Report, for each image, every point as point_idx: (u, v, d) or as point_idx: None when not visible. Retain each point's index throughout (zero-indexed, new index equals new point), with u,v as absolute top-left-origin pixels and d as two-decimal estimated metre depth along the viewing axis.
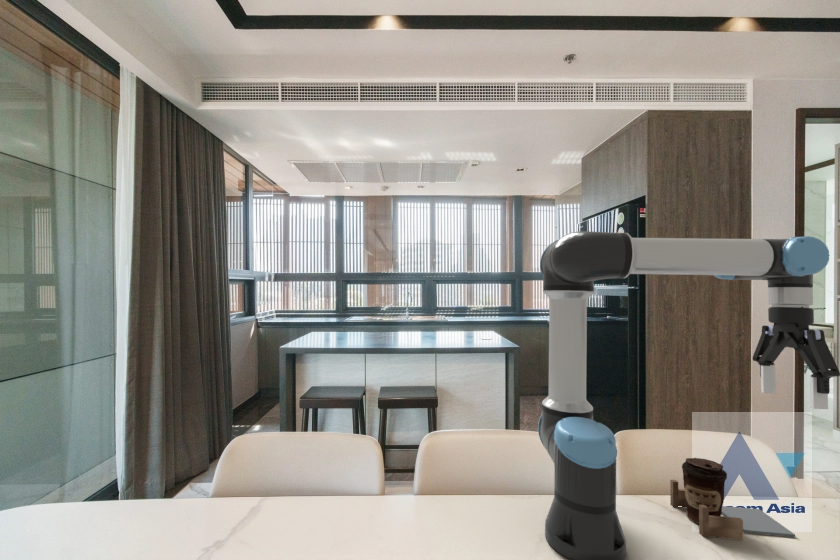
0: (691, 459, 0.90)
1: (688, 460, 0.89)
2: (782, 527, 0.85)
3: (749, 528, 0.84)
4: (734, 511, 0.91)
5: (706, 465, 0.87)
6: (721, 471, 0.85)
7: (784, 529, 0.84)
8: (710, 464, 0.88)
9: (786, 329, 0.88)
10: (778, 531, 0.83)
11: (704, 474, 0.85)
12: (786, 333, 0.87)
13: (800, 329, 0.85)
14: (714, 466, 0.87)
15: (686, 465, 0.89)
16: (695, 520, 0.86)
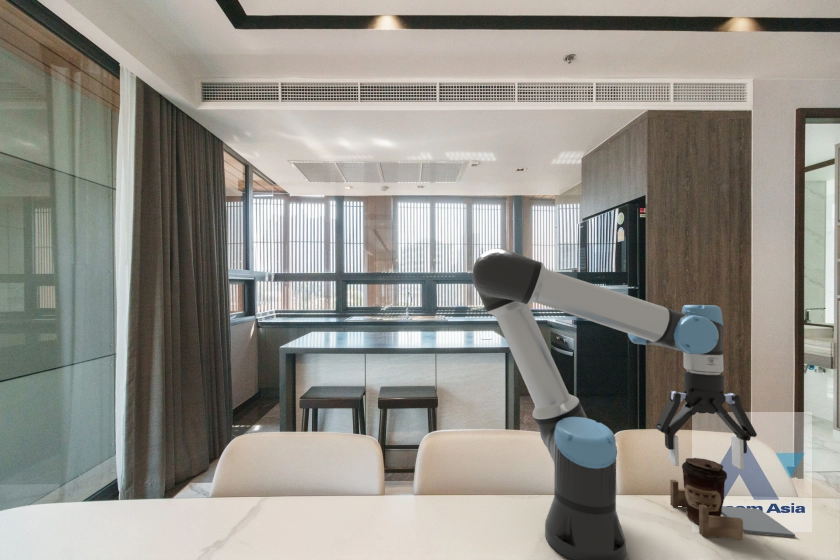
0: (691, 459, 0.90)
1: (688, 460, 0.89)
2: (782, 527, 0.85)
3: (749, 528, 0.84)
4: (734, 511, 0.91)
5: (706, 465, 0.87)
6: (721, 471, 0.85)
7: (784, 529, 0.84)
8: (710, 464, 0.88)
9: None
10: (778, 531, 0.83)
11: (704, 474, 0.85)
12: None
13: None
14: (714, 466, 0.87)
15: (686, 465, 0.89)
16: (695, 520, 0.86)
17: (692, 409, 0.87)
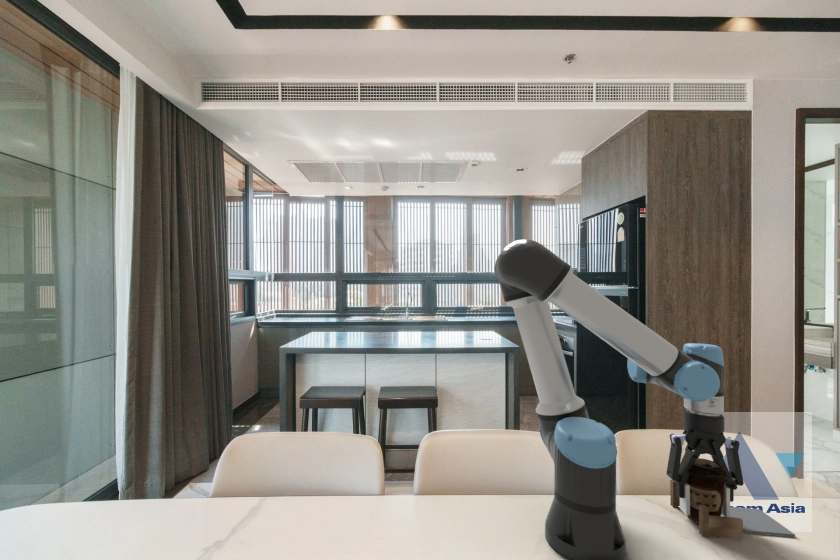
0: None
1: None
2: (782, 527, 0.85)
3: (749, 528, 0.84)
4: (734, 511, 0.91)
5: (706, 465, 0.87)
6: (721, 471, 0.85)
7: (784, 529, 0.84)
8: (710, 464, 0.88)
9: None
10: (778, 531, 0.83)
11: (704, 474, 0.85)
12: None
13: None
14: (714, 466, 0.87)
15: None
16: (695, 520, 0.86)
17: (695, 452, 0.87)
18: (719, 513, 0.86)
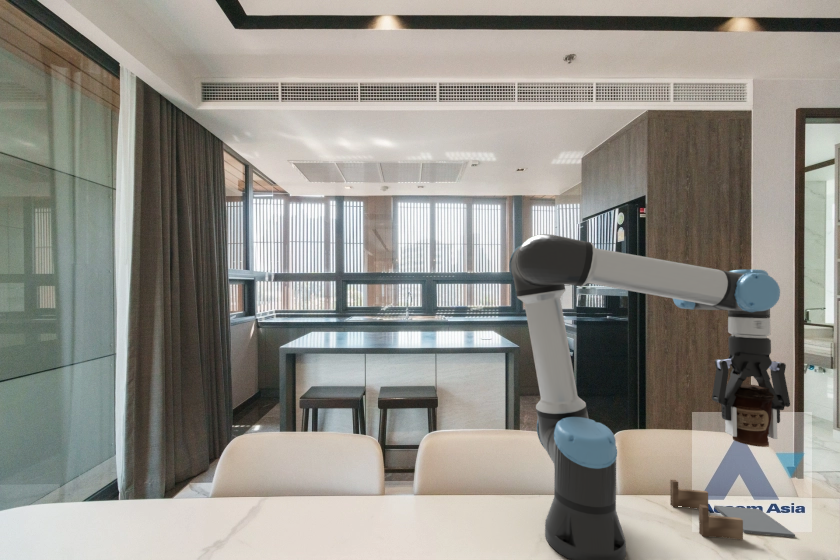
0: None
1: None
2: (782, 527, 0.85)
3: (749, 528, 0.84)
4: (734, 511, 0.91)
5: (752, 388, 0.89)
6: (768, 392, 0.86)
7: (784, 529, 0.84)
8: (756, 387, 0.89)
9: None
10: (778, 531, 0.83)
11: (752, 394, 0.86)
12: None
13: None
14: (760, 388, 0.88)
15: None
16: (742, 441, 0.87)
17: (741, 375, 0.88)
18: (766, 433, 0.87)
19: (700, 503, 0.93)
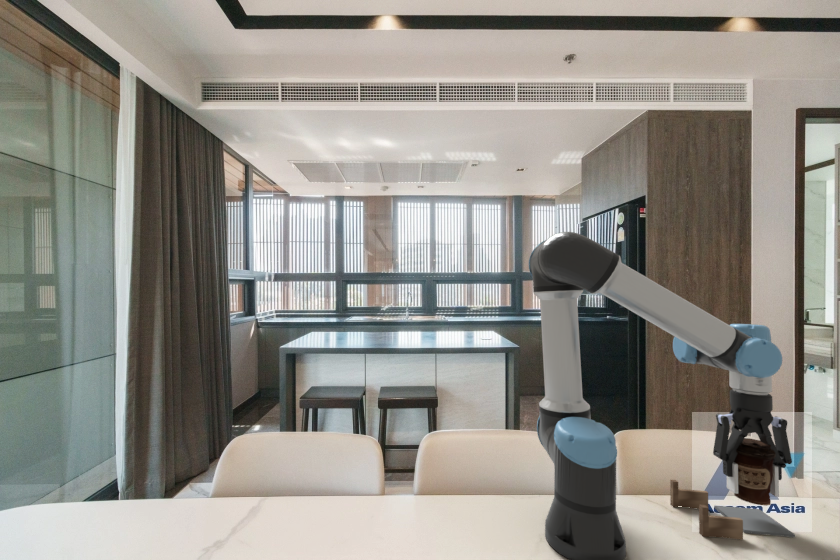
0: None
1: None
2: (782, 527, 0.85)
3: (749, 528, 0.84)
4: (734, 511, 0.91)
5: (754, 444, 0.88)
6: (770, 449, 0.86)
7: (784, 529, 0.84)
8: (757, 443, 0.88)
9: None
10: (778, 531, 0.83)
11: (754, 452, 0.85)
12: None
13: None
14: (762, 445, 0.87)
15: None
16: (744, 498, 0.87)
17: (743, 431, 0.87)
18: (768, 491, 0.86)
19: (700, 503, 0.93)
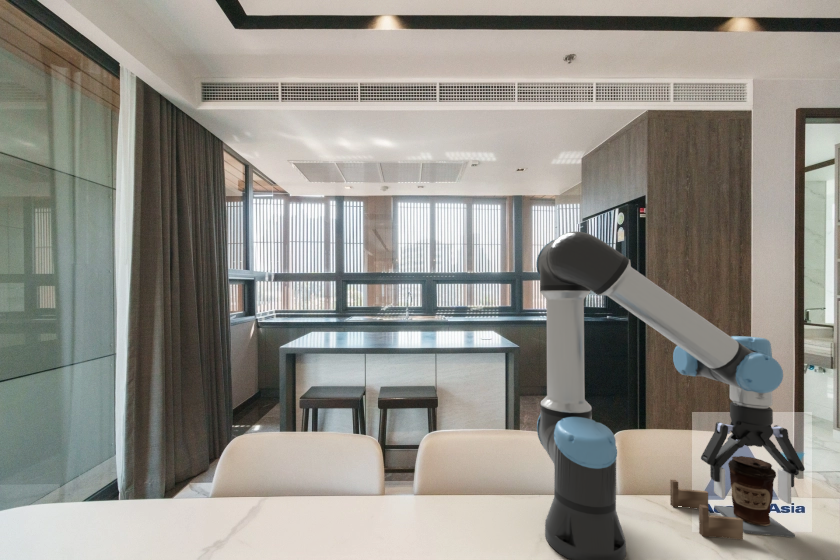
0: (738, 457, 0.90)
1: (735, 458, 0.90)
2: (782, 527, 0.85)
3: (749, 528, 0.84)
4: None
5: (754, 463, 0.88)
6: (770, 469, 0.85)
7: (784, 529, 0.84)
8: (758, 462, 0.88)
9: None
10: (778, 531, 0.83)
11: (754, 472, 0.85)
12: None
13: None
14: (762, 464, 0.87)
15: (733, 463, 0.89)
16: (743, 518, 0.87)
17: (740, 442, 0.87)
18: (768, 511, 0.86)
19: (700, 503, 0.93)
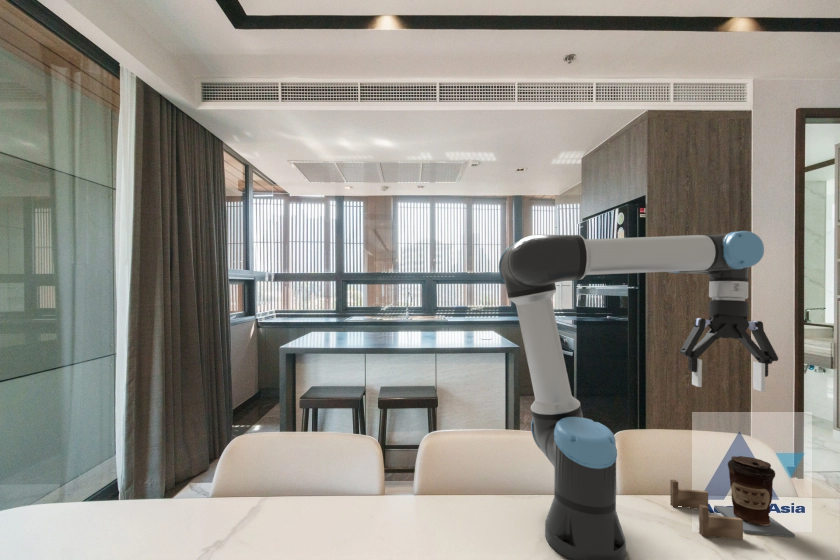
0: (737, 457, 0.91)
1: (734, 458, 0.90)
2: (782, 527, 0.85)
3: (749, 528, 0.84)
4: None
5: (753, 463, 0.88)
6: (769, 469, 0.86)
7: (784, 529, 0.84)
8: (757, 462, 0.88)
9: None
10: (778, 531, 0.83)
11: (753, 472, 0.85)
12: None
13: None
14: (762, 464, 0.87)
15: (733, 463, 0.89)
16: (743, 518, 0.87)
17: (716, 333, 0.92)
18: (767, 511, 0.86)
19: (700, 503, 0.93)
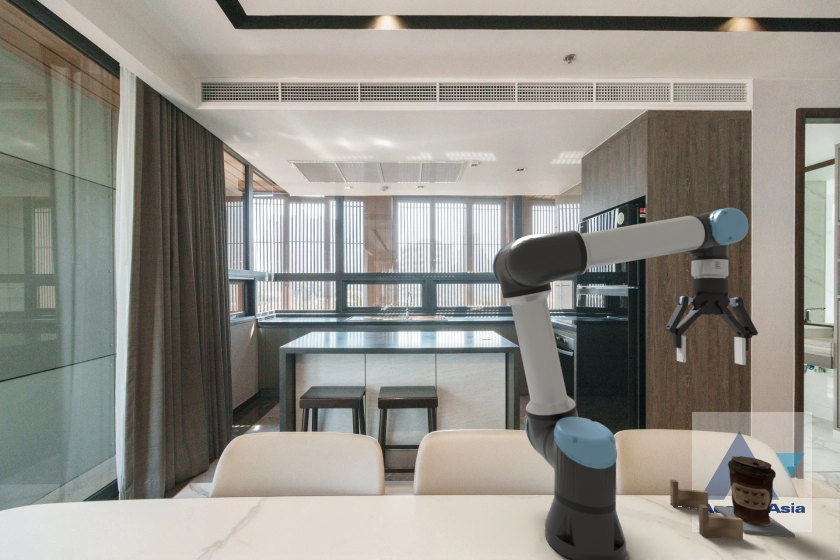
0: (737, 457, 0.91)
1: (735, 458, 0.90)
2: (782, 527, 0.85)
3: (749, 528, 0.84)
4: None
5: (754, 463, 0.88)
6: (770, 469, 0.85)
7: (784, 529, 0.84)
8: (757, 462, 0.88)
9: None
10: (778, 531, 0.83)
11: (753, 472, 0.85)
12: None
13: None
14: (762, 464, 0.87)
15: (733, 463, 0.89)
16: (743, 518, 0.87)
17: (699, 310, 0.95)
18: (767, 511, 0.86)
19: (700, 503, 0.93)
